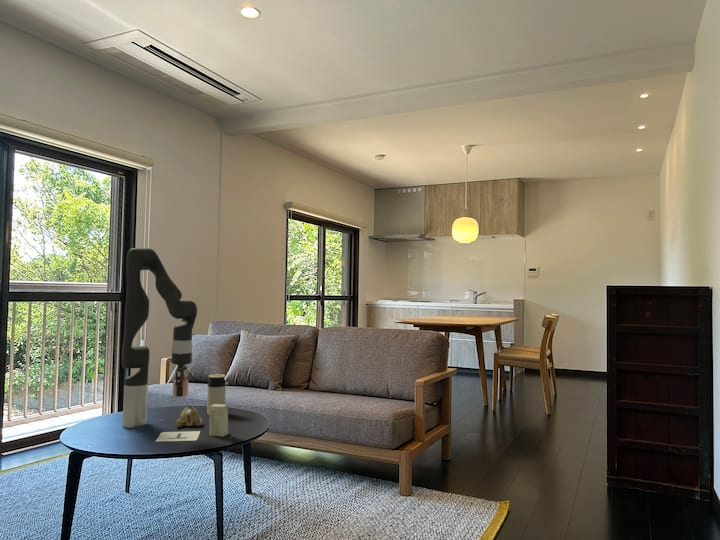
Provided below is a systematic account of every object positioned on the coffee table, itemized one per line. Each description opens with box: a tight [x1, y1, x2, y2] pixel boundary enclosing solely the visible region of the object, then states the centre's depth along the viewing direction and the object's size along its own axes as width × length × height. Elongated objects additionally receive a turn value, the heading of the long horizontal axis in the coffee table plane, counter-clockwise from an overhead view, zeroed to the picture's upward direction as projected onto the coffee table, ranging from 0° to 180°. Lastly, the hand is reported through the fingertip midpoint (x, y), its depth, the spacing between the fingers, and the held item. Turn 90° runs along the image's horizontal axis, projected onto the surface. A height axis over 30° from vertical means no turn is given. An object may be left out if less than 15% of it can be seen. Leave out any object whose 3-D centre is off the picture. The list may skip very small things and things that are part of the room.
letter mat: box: [154, 430, 201, 443], centre depth 207 cm, size 13×15×1 cm
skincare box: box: [208, 404, 229, 437], centre depth 210 cm, size 6×4×12 cm
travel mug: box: [206, 373, 227, 416], centre depth 246 cm, size 8×8×18 cm
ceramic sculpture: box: [175, 405, 203, 428], centre depth 225 cm, size 11×9×15 cm
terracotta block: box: [172, 378, 189, 398], centre depth 207 cm, size 5×5×6 cm
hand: (180, 394), depth 207 cm, fingers closed on terracotta block, 5 cm apart
